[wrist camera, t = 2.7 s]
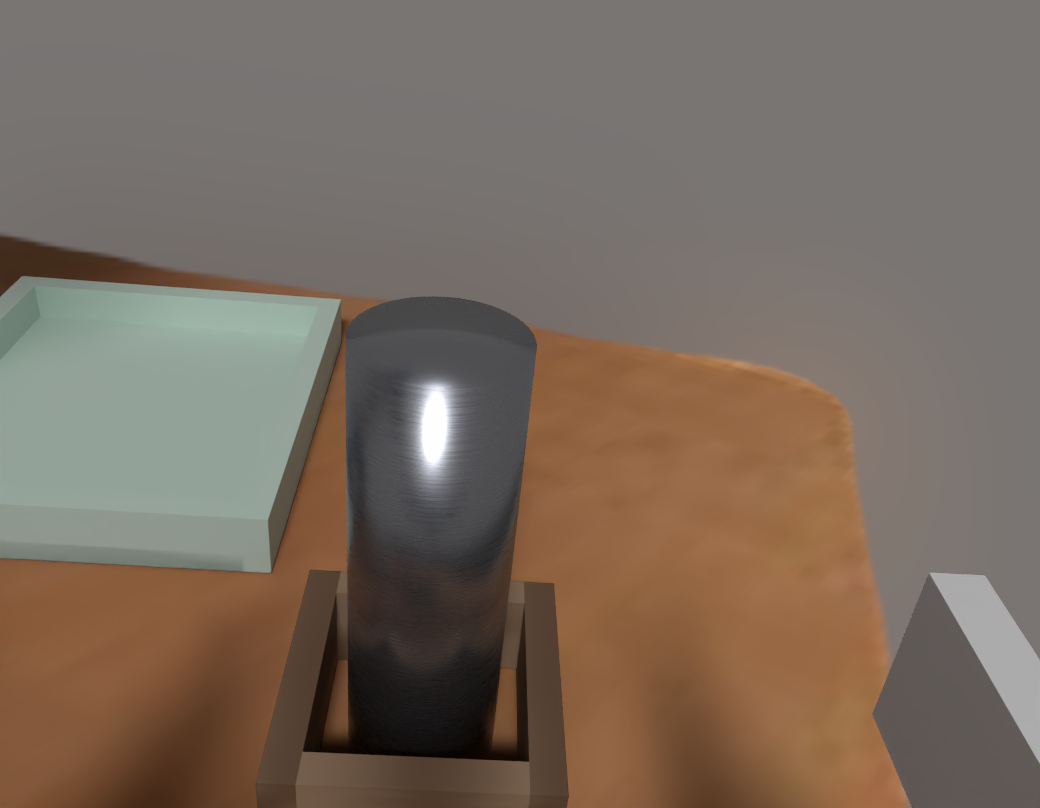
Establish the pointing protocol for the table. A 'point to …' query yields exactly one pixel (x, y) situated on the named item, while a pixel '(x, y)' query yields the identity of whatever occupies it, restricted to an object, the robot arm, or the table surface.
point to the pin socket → (402, 779)
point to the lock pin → (431, 519)
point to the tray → (156, 420)
